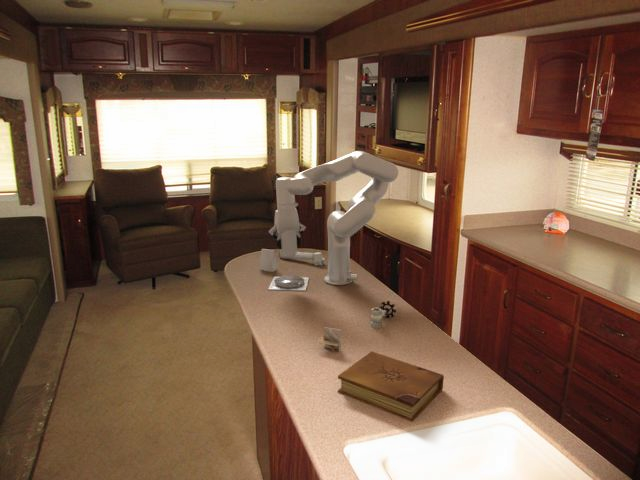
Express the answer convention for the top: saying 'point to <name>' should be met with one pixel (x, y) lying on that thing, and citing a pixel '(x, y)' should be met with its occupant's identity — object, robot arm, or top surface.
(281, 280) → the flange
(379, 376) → the diary
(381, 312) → the valve
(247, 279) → the top surface
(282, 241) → the can
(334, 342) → the architectural model
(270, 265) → the tea bag
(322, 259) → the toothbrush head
